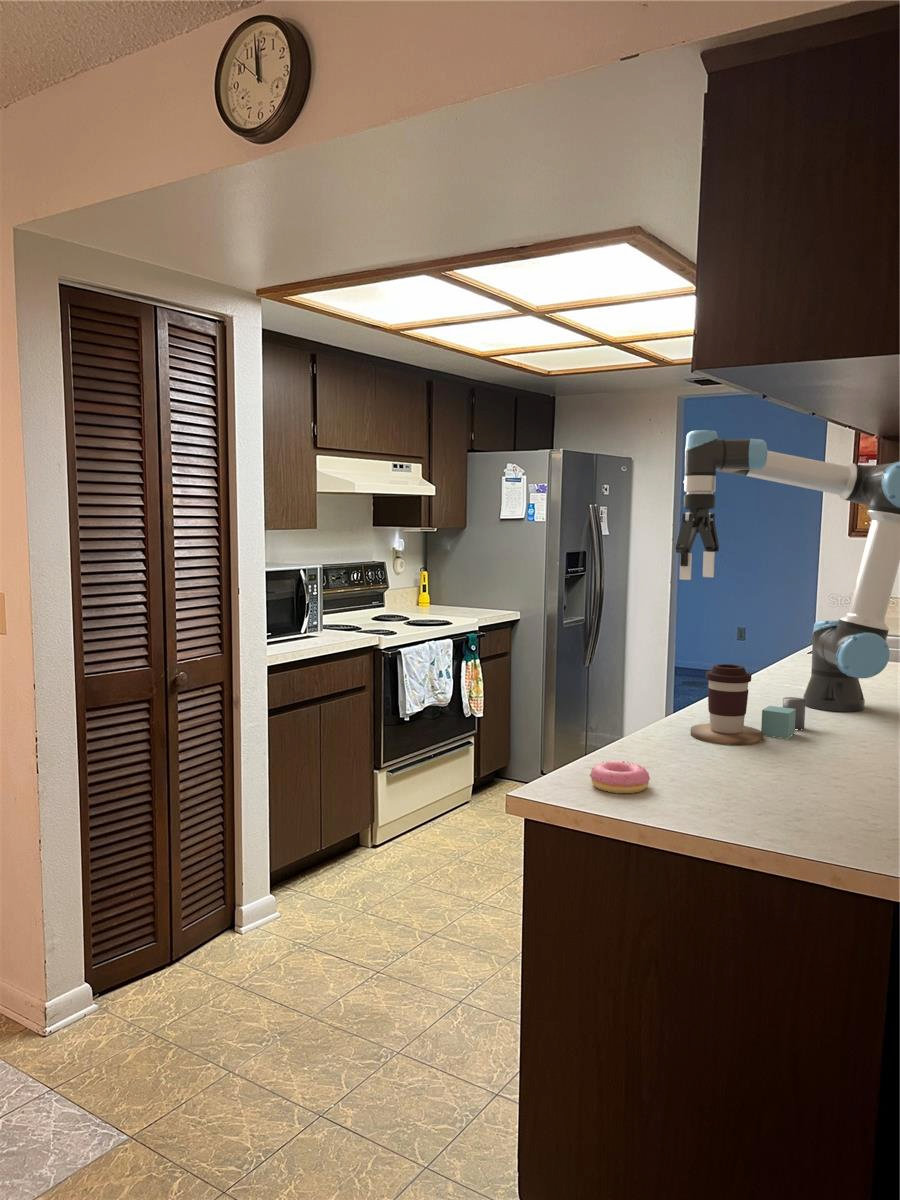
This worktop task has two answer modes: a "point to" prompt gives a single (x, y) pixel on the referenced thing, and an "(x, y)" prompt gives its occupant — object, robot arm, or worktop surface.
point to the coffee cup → (727, 697)
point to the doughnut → (619, 777)
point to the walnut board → (727, 735)
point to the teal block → (778, 721)
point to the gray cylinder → (800, 710)
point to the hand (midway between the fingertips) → (696, 578)
